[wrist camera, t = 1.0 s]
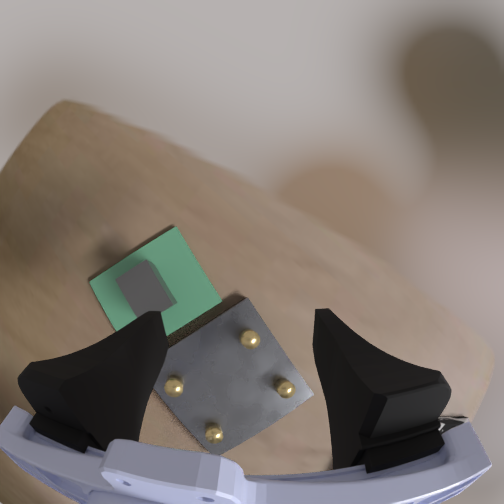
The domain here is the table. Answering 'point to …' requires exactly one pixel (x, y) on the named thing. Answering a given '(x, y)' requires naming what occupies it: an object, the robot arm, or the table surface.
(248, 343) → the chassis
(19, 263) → the table surface
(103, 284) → the board
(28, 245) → the table surface
